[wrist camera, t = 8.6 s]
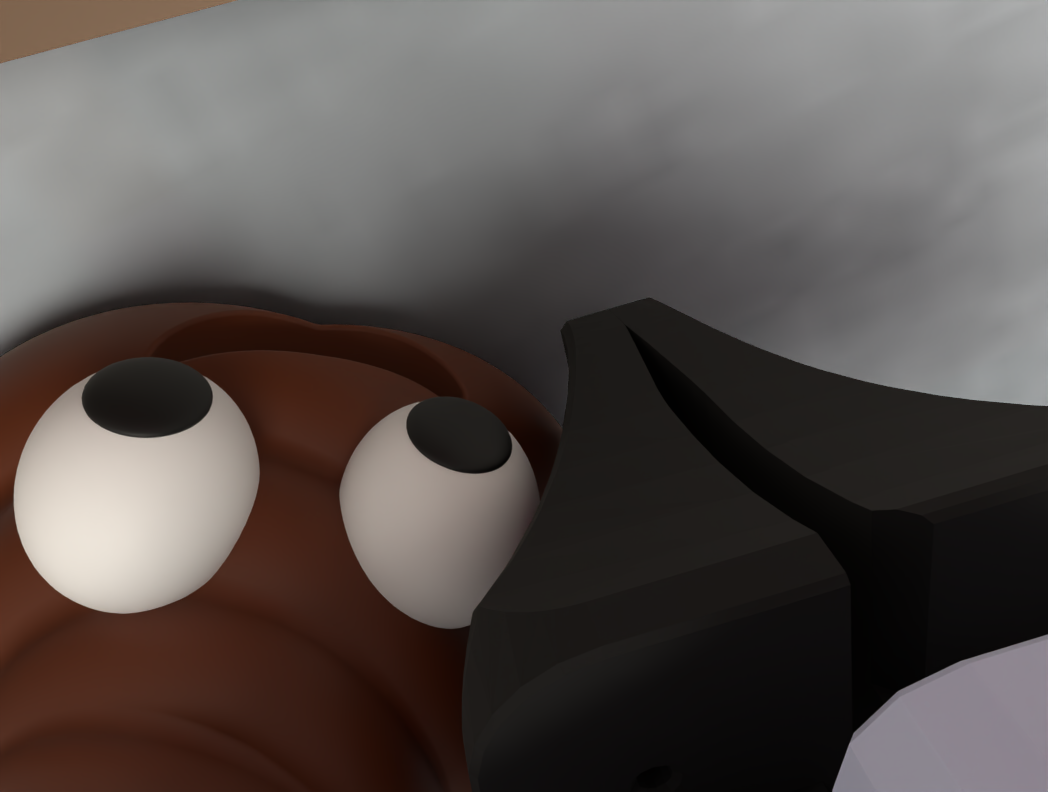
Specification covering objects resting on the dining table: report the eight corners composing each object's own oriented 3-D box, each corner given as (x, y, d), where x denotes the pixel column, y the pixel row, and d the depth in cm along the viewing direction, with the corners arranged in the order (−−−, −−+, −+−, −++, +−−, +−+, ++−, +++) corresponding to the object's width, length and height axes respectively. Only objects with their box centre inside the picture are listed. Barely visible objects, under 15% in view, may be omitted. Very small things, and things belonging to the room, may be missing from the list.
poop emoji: (-45, 666, 15) (-499, 1590, 7) (-83, 184, 11) (-1301, 1064, 3) (514, 686, 17) (655, 1355, 10) (648, 311, 13) (1080, 924, 6)
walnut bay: (670, 625, 17) (758, 826, 13) (8, 823, 17) (-85, 1087, 13) (519, -214, 10) (628, -270, 6) (-706, 105, 9) (-1410, 257, 5)
